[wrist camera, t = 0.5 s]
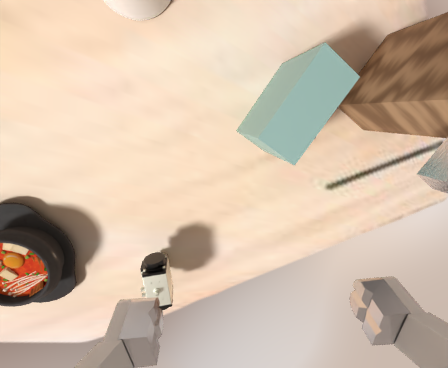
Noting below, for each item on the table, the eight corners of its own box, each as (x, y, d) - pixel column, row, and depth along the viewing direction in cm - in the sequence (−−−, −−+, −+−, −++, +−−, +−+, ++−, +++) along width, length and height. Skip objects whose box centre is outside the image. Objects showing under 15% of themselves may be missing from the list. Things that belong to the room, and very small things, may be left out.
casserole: (98, 280, 59) (85, 306, 51) (22, 307, 58) (-4, 338, 50) (45, 187, 51) (19, 201, 43) (-45, 217, 50) (-88, 236, 42)
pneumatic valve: (167, 238, 59) (164, 268, 47) (174, 278, 62) (172, 315, 51) (144, 241, 58) (134, 273, 46) (152, 282, 61) (145, 321, 50)
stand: (363, 130, 59) (493, 142, 34) (335, 105, 56) (455, 99, 31) (413, 64, 56) (593, 27, 32) (387, 35, 53) (562, -32, 29)
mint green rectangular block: (263, 150, 56) (294, 165, 41) (236, 130, 54) (258, 138, 38) (308, 87, 54) (360, 76, 38) (282, 63, 51) (325, 42, 36)
